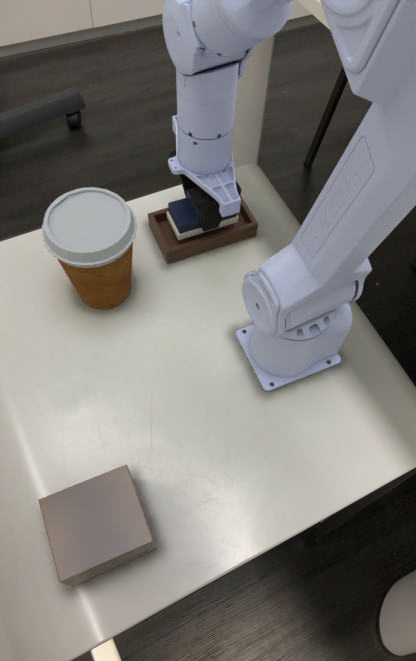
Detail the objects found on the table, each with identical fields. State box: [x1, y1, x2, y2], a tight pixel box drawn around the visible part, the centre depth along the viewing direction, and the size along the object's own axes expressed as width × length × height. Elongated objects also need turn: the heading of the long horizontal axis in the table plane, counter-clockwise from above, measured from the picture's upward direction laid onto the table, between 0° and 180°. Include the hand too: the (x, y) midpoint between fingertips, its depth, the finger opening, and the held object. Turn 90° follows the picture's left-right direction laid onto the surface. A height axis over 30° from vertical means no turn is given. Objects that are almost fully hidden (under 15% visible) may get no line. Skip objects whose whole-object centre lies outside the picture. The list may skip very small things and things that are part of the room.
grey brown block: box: [38, 464, 157, 587], centre depth 46 cm, size 8×7×5 cm
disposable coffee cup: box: [41, 186, 138, 310], centre depth 56 cm, size 10×10×12 cm
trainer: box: [167, 186, 238, 240], centre depth 62 cm, size 8×4×5 cm, turn 113°
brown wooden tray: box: [147, 195, 259, 265], centre depth 65 cm, size 12×7×2 cm, turn 113°
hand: (202, 214), depth 63 cm, fingers closed on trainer, 4 cm apart
